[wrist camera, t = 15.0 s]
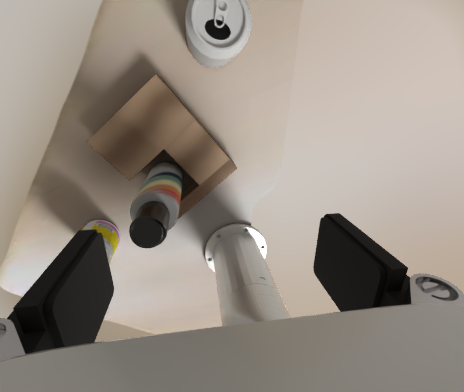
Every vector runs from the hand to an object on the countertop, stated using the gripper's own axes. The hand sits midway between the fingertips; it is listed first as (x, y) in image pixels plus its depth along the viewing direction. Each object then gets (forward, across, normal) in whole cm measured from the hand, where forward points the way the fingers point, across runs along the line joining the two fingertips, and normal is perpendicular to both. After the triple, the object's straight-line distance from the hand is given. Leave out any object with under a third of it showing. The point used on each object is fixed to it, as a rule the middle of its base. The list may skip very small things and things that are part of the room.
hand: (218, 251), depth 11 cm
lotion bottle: (+34, +6, +7) cm, 36 cm away
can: (+34, -3, -14) cm, 37 cm away
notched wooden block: (+34, +5, +2) cm, 35 cm away
